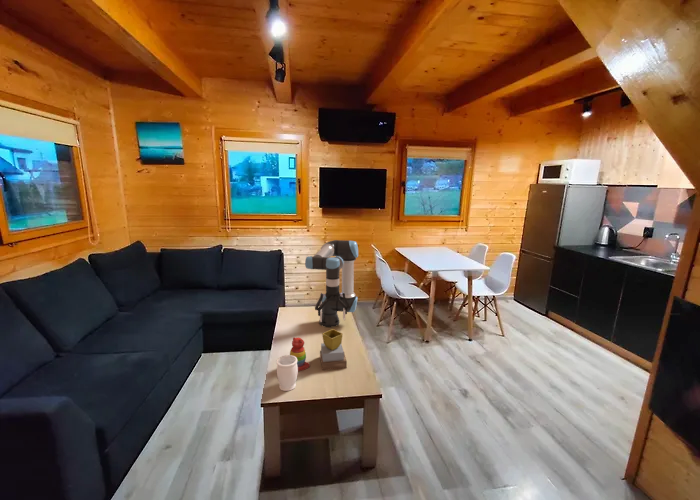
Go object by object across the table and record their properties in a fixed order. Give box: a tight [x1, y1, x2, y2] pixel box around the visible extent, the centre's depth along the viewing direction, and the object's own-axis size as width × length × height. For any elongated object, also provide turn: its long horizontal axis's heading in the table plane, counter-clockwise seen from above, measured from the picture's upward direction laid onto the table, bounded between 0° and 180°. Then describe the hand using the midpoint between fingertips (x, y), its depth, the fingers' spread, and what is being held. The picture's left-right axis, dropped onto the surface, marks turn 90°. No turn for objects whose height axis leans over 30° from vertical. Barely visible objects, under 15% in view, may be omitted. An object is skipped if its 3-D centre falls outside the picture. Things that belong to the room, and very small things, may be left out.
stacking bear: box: [289, 337, 311, 372], centre depth 179 cm, size 11×10×18 cm
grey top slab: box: [320, 342, 345, 362], centre depth 184 cm, size 12×12×5 cm
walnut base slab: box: [319, 350, 348, 371], centre depth 185 cm, size 14×14×5 cm
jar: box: [276, 354, 299, 392], centre depth 161 cm, size 11×10×15 cm
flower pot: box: [321, 328, 343, 350], centre depth 182 cm, size 9×9×9 cm
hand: (332, 320), depth 180 cm, fingers open, 13 cm apart
